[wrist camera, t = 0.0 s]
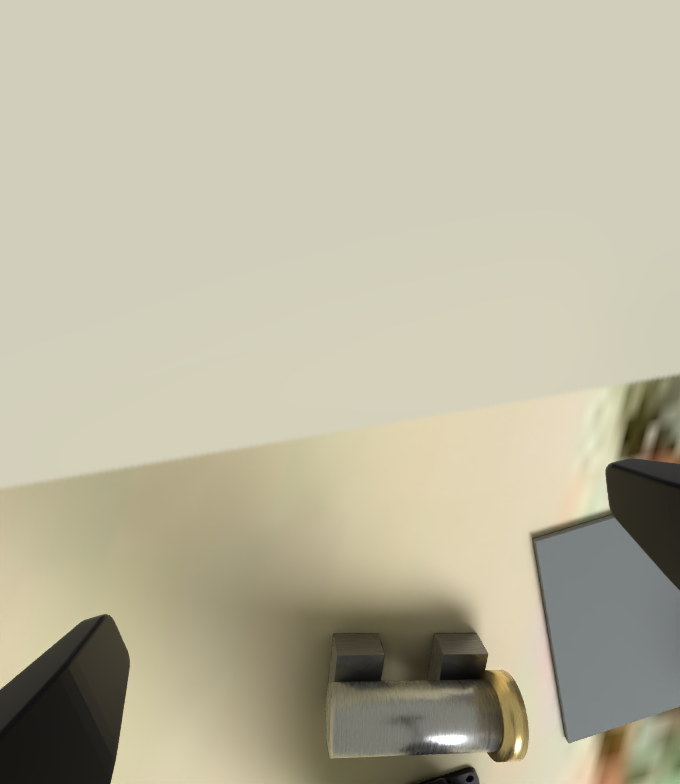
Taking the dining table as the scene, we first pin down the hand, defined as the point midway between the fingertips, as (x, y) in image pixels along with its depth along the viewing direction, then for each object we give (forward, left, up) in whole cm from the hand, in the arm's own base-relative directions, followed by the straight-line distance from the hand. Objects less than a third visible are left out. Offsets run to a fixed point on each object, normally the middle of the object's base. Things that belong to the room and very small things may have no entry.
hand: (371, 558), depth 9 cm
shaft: (-17, -1, -14) cm, 22 cm away
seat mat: (-18, -13, -14) cm, 27 cm away
